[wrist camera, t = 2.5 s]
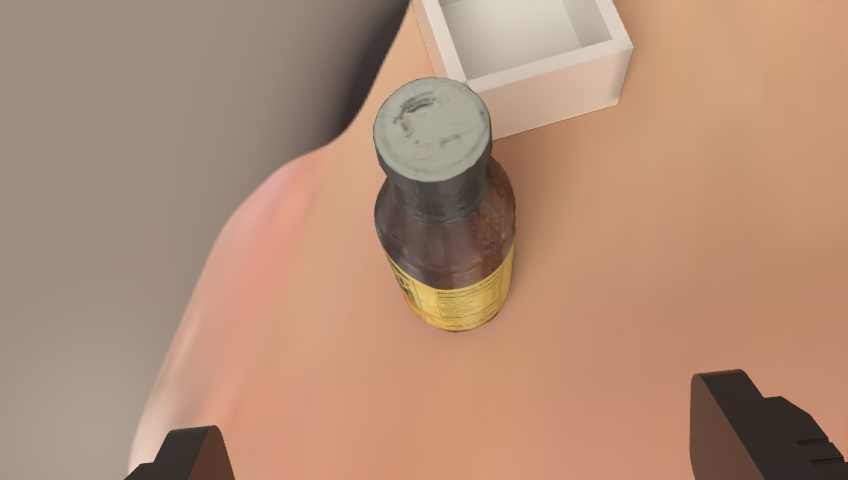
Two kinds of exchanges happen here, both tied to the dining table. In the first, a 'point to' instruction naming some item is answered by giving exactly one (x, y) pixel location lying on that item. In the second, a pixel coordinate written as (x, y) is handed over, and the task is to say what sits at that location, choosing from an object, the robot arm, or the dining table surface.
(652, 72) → the dining table surface
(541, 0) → the bottle holder
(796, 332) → the dining table surface
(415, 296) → the sauce bottle
